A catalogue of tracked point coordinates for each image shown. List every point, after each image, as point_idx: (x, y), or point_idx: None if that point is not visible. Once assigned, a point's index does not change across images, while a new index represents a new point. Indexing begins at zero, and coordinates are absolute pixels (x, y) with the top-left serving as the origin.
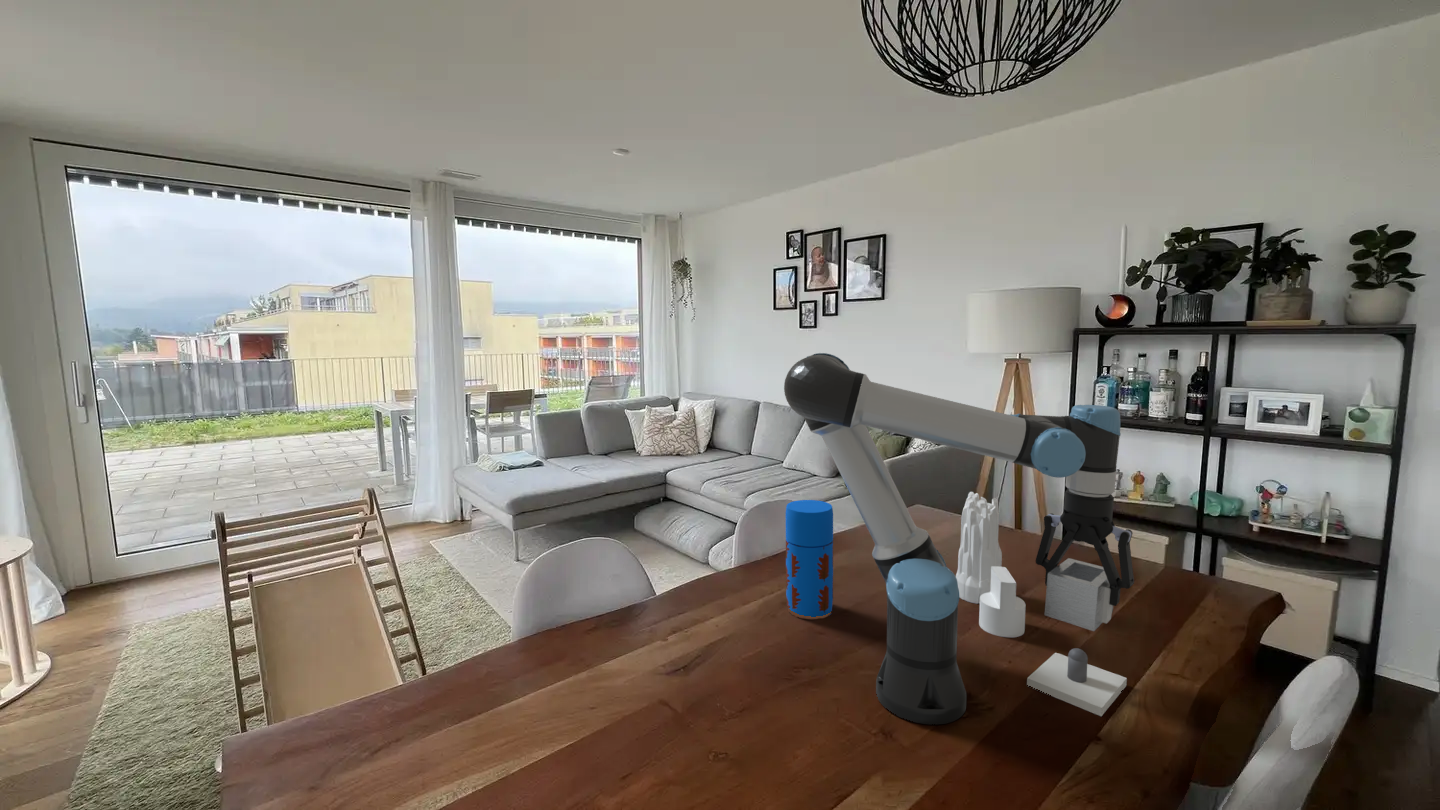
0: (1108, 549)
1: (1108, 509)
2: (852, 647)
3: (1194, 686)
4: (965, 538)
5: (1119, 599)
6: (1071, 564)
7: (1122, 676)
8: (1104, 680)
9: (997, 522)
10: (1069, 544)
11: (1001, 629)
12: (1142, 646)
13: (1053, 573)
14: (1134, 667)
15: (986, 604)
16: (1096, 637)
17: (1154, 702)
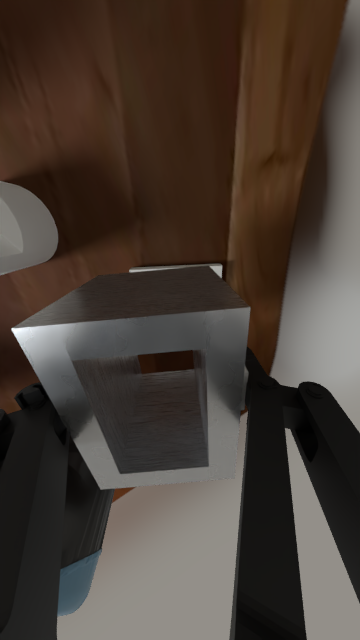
0: (300, 617)
1: None
2: (5, 401)
3: (295, 181)
4: None
5: (253, 354)
6: (84, 392)
7: (216, 265)
8: None
9: None
10: (46, 618)
11: (39, 262)
12: (206, 61)
13: (110, 483)
14: (215, 192)
15: None
16: (130, 107)
17: (252, 276)
